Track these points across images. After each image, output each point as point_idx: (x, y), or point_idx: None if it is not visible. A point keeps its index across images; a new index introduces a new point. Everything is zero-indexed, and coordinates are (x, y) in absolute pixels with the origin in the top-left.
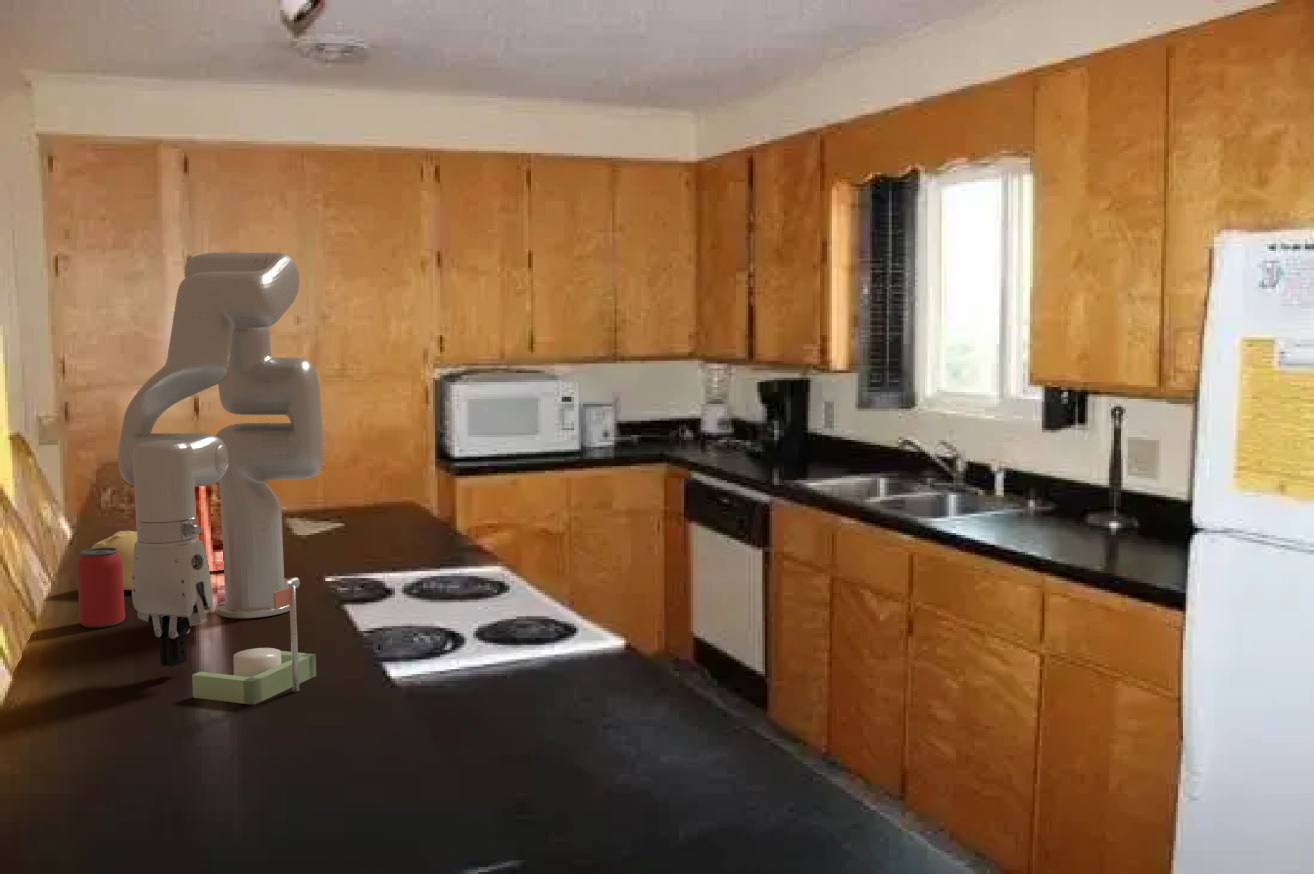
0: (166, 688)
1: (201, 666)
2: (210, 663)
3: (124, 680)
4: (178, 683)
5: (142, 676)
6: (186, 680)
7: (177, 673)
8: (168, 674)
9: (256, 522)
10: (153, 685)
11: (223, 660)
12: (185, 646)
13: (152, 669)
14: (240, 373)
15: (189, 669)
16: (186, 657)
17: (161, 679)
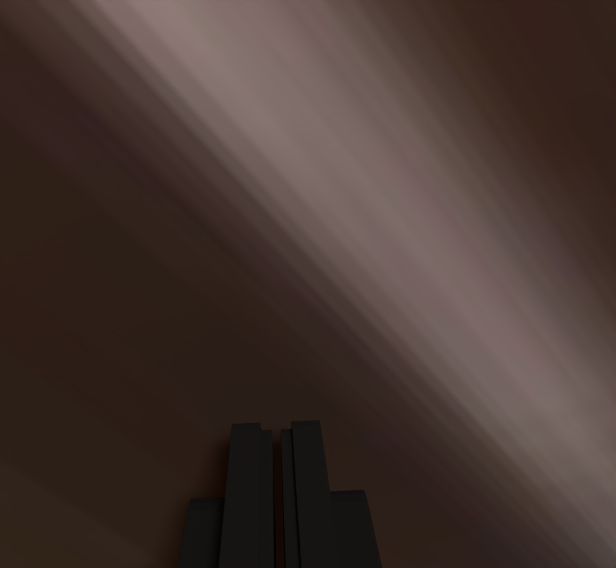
0: (390, 565)
1: (284, 207)
2: (293, 119)
3: (69, 552)
4: (394, 500)
5: (96, 480)
6: (401, 454)
7: (248, 378)
8: (211, 409)
9: None
10: None
11: (338, 4)
12: (378, 556)
13: (17, 367)
14: None
15: (256, 291)
16: (319, 430)
17: None
